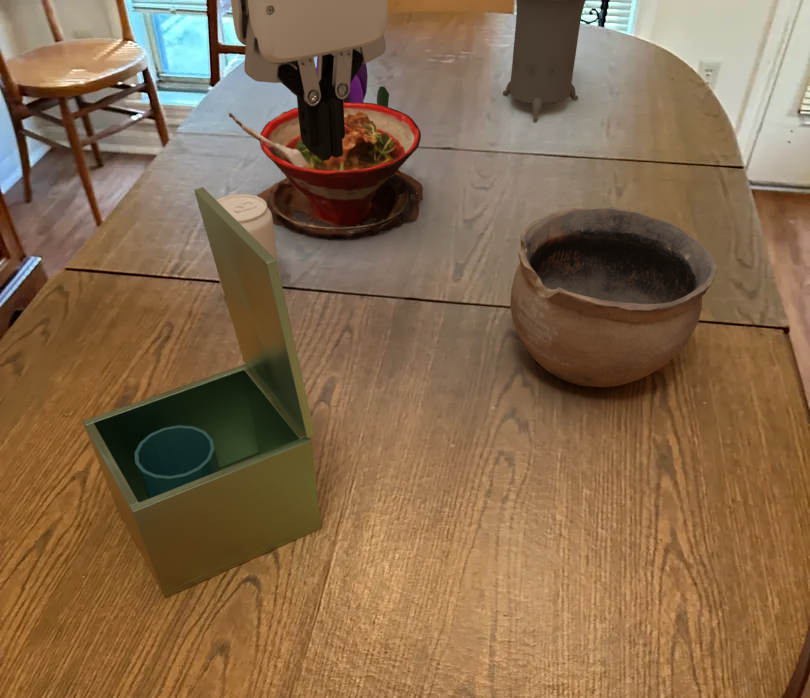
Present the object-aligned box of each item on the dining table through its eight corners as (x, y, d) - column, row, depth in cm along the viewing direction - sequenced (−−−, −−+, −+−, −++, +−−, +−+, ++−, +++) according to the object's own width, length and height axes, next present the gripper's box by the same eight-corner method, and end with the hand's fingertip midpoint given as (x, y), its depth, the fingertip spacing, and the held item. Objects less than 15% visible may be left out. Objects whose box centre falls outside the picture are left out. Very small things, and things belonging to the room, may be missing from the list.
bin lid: (266, 263, 56) (276, 259, 57) (193, 189, 64) (202, 186, 64) (307, 438, 70) (315, 434, 70) (243, 360, 77) (250, 357, 78)
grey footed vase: (574, 125, 146) (599, -38, 127) (495, 119, 148) (508, -42, 129) (579, 88, 158) (602, -66, 139) (505, 83, 160) (519, -70, 141)
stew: (238, 252, 115) (219, 138, 103) (253, 179, 131) (238, 72, 119) (429, 250, 116) (432, 136, 104) (421, 177, 131) (423, 70, 119)
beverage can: (210, 290, 108) (193, 205, 99) (259, 270, 112) (247, 186, 103) (243, 315, 104) (229, 229, 95) (293, 293, 108) (283, 208, 99)
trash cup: (179, 559, 75) (156, 489, 68) (146, 516, 79) (121, 446, 72) (244, 525, 78) (228, 455, 71) (209, 486, 82) (190, 415, 75)
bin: (165, 598, 73) (132, 512, 64) (117, 509, 81) (82, 420, 72) (321, 528, 79) (311, 440, 70) (263, 451, 87) (247, 362, 78)
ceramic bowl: (474, 331, 102) (483, 220, 91) (619, 299, 107) (645, 189, 96) (556, 437, 88) (578, 322, 77) (717, 394, 94) (761, 280, 82)
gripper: (375, -183, 51) (381, 115, 65) (158, -163, 46) (214, 157, 60) (439, -167, 47) (431, 148, 61) (208, -144, 42) (256, 195, 56)
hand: (324, 151), depth 61 cm, fingers closed
